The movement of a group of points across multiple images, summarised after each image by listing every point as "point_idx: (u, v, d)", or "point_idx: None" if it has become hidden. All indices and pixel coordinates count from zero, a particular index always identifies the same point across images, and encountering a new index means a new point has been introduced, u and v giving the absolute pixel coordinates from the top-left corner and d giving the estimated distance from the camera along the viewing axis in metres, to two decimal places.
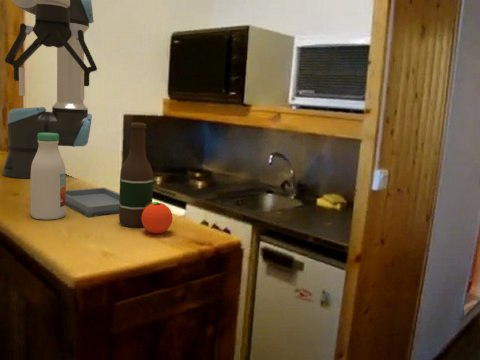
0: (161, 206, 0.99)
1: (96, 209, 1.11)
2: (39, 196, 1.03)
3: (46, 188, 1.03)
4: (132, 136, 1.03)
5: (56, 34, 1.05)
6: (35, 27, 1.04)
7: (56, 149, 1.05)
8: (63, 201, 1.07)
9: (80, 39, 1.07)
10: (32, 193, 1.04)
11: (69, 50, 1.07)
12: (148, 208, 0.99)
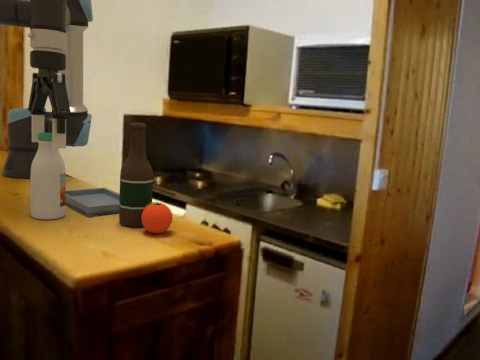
0: (161, 206, 0.99)
1: (96, 209, 1.11)
2: (39, 196, 1.03)
3: (46, 188, 1.03)
4: (132, 136, 1.03)
5: (40, 80, 1.01)
6: (38, 75, 1.04)
7: (56, 149, 1.05)
8: (63, 201, 1.07)
9: (53, 82, 0.97)
10: (32, 193, 1.04)
11: (48, 95, 1.00)
12: (148, 208, 0.99)
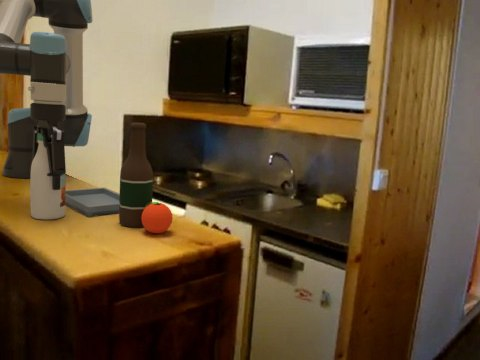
0: (161, 206, 0.99)
1: (96, 209, 1.11)
2: (39, 196, 1.03)
3: (45, 188, 1.03)
4: (132, 136, 1.03)
5: (41, 131, 1.03)
6: (38, 125, 1.06)
7: None
8: (63, 201, 1.07)
9: (52, 139, 1.00)
10: (32, 193, 1.04)
11: (47, 149, 1.03)
12: (148, 208, 0.99)
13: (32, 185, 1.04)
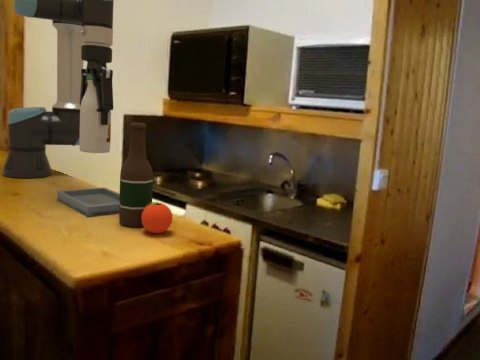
0: (161, 206, 0.99)
1: (96, 209, 1.11)
2: (88, 131, 1.14)
3: (94, 124, 1.13)
4: (132, 136, 1.03)
5: (90, 71, 1.13)
6: (86, 67, 1.17)
7: None
8: (109, 137, 1.17)
9: (101, 77, 1.10)
10: (82, 128, 1.14)
11: (96, 87, 1.13)
12: (148, 208, 0.99)
13: (82, 121, 1.14)
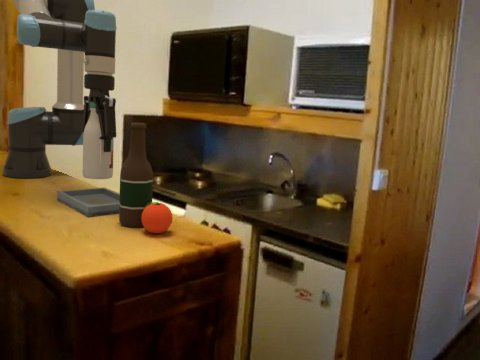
0: (161, 206, 0.99)
1: (96, 209, 1.11)
2: (91, 158, 1.16)
3: (97, 151, 1.15)
4: (132, 136, 1.03)
5: (93, 99, 1.15)
6: (89, 95, 1.19)
7: None
8: (111, 163, 1.19)
9: (104, 106, 1.12)
10: (85, 155, 1.16)
11: (99, 115, 1.15)
12: (148, 208, 0.99)
13: (85, 148, 1.16)
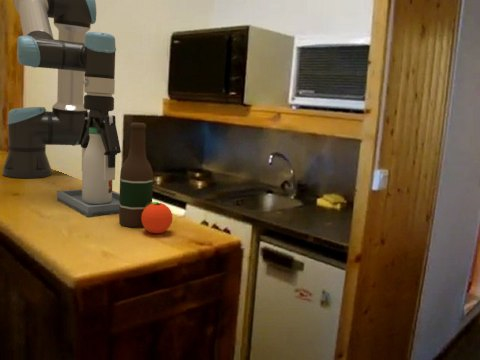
0: (161, 206, 0.99)
1: (96, 209, 1.11)
2: (91, 183, 1.17)
3: (97, 176, 1.17)
4: (132, 136, 1.03)
5: (93, 120, 1.16)
6: (89, 114, 1.20)
7: None
8: (111, 188, 1.21)
9: (105, 124, 1.13)
10: (84, 180, 1.18)
11: (100, 134, 1.15)
12: (148, 208, 0.99)
13: (84, 173, 1.17)
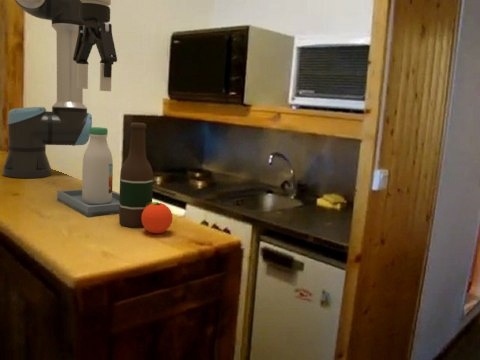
0: (161, 206, 0.99)
1: (96, 209, 1.11)
2: (91, 183, 1.17)
3: (97, 176, 1.17)
4: (132, 136, 1.03)
5: (88, 30, 1.13)
6: (84, 26, 1.17)
7: (105, 142, 1.18)
8: (111, 188, 1.21)
9: (101, 31, 1.10)
10: (84, 181, 1.18)
11: (96, 43, 1.12)
12: (148, 208, 0.99)
13: (85, 174, 1.17)
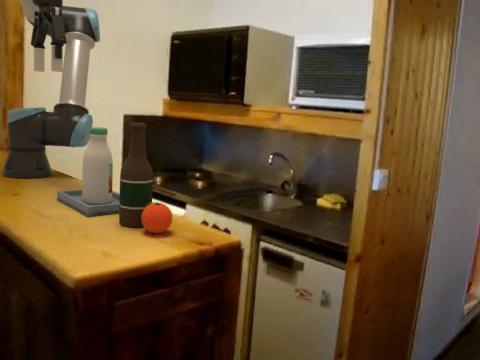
0: (161, 206, 0.99)
1: (96, 209, 1.11)
2: (91, 183, 1.17)
3: (97, 176, 1.17)
4: (132, 136, 1.03)
5: (41, 14, 1.20)
6: (39, 12, 1.24)
7: (105, 142, 1.18)
8: (111, 188, 1.21)
9: (51, 15, 1.17)
10: (84, 181, 1.18)
11: (48, 27, 1.19)
12: (148, 208, 0.99)
13: (85, 174, 1.17)
